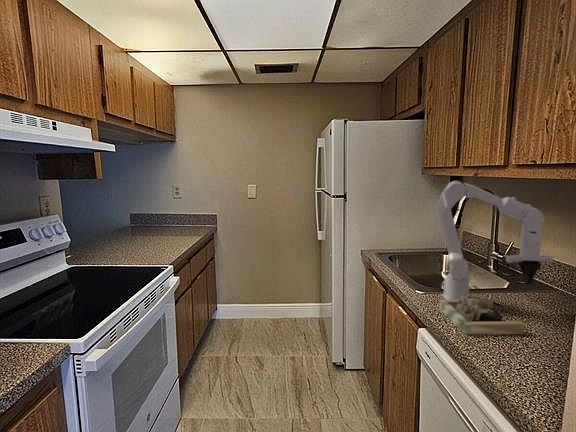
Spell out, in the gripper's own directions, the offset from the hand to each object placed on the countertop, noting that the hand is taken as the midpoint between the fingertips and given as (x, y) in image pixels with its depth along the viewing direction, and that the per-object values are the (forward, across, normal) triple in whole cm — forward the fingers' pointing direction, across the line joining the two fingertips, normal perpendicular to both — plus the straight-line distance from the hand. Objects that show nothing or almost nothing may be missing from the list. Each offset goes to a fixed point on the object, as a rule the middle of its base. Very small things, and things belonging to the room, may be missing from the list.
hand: (527, 282), depth 125 cm
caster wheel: (+10, -20, -9) cm, 24 cm away
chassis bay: (+9, -21, -9) cm, 25 cm away
